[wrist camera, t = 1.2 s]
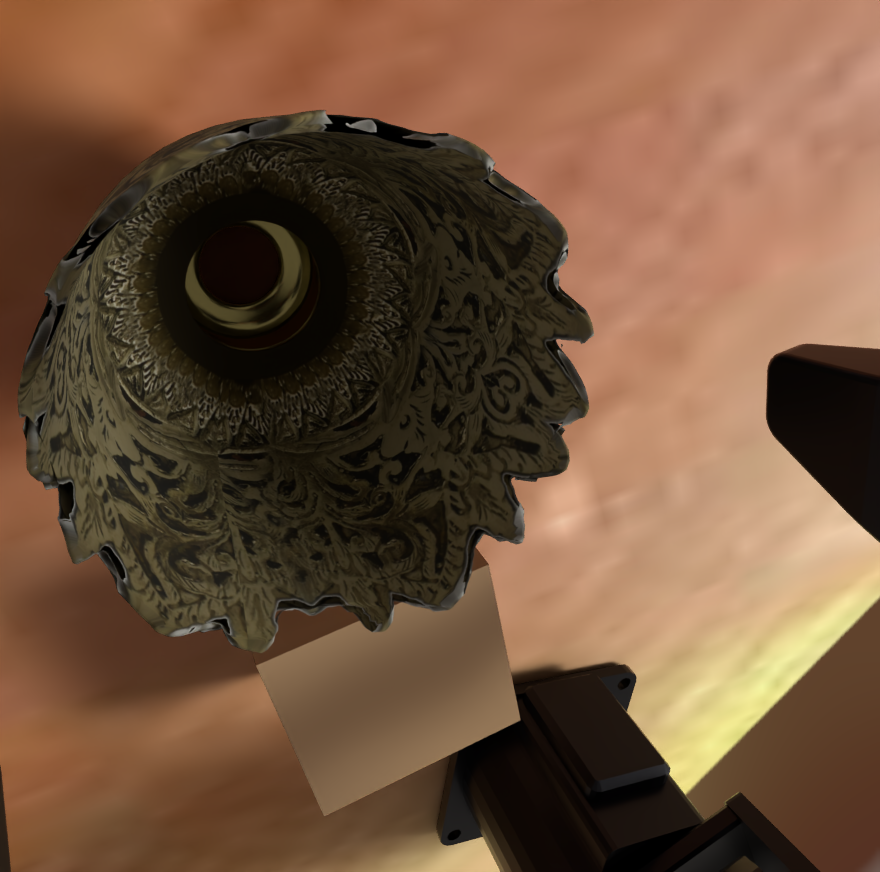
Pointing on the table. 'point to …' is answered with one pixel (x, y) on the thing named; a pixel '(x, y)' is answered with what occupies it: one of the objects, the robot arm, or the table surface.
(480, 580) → the walnut block
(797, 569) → the table surface
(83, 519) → the ornate bronze bell
